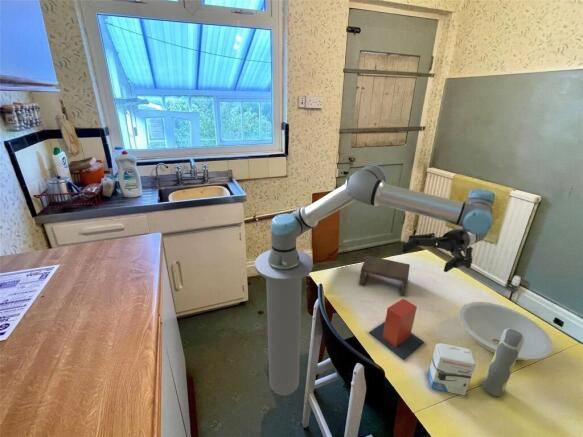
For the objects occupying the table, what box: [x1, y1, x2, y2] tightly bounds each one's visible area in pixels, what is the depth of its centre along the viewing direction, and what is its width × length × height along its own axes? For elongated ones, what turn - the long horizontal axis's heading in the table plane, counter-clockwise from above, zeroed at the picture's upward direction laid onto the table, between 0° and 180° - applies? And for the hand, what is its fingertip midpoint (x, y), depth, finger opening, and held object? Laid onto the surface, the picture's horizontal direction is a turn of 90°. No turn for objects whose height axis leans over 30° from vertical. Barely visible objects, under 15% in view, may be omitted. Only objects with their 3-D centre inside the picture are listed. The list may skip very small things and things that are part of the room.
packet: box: [383, 298, 418, 347], centre depth 91 cm, size 5×8×12 cm, turn 126°
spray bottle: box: [481, 328, 524, 397], centre depth 73 cm, size 5×5×20 cm
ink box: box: [427, 342, 477, 396], centre depth 76 cm, size 8×5×12 cm, turn 76°
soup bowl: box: [458, 301, 554, 361], centre depth 91 cm, size 24×24×7 cm
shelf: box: [358, 255, 411, 297], centre depth 120 cm, size 18×12×8 cm, turn 66°
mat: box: [369, 321, 425, 361], centre depth 93 cm, size 13×11×1 cm
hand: (423, 257), depth 86 cm, fingers open, 13 cm apart
